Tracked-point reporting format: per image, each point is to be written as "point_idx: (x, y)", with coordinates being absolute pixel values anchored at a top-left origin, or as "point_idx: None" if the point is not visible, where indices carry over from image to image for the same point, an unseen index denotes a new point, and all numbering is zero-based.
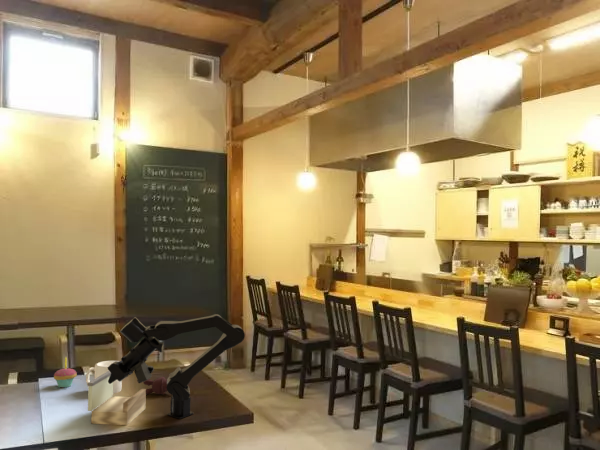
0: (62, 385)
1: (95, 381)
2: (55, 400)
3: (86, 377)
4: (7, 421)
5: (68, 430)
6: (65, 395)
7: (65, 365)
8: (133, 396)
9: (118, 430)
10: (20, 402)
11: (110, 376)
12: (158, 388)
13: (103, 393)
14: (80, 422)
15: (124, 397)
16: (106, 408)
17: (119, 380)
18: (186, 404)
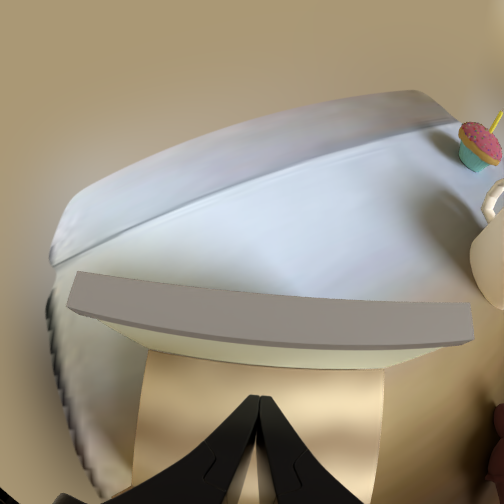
0: (462, 155)
1: (104, 316)
2: (386, 167)
3: (491, 188)
4: (214, 133)
5: None
6: (427, 177)
7: (492, 125)
8: None
9: (102, 462)
10: (348, 115)
11: (221, 426)
12: (496, 469)
13: (278, 360)
14: None
15: (369, 435)
16: (184, 409)
17: (6, 498)
18: None
